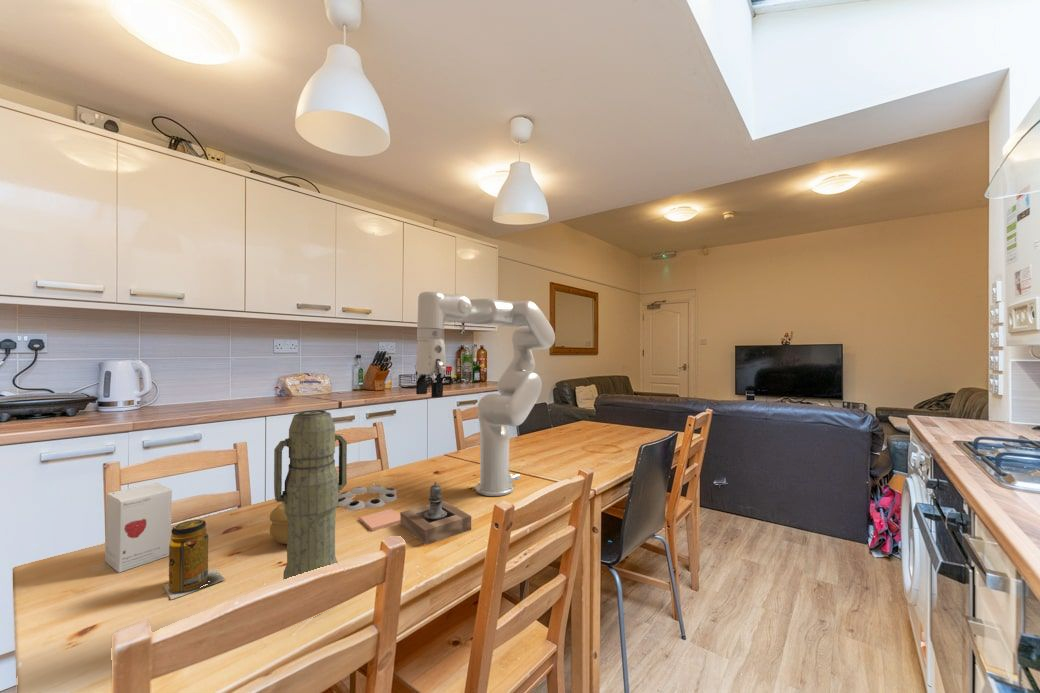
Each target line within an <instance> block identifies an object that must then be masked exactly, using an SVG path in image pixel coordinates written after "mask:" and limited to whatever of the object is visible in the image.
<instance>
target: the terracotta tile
mask: <svg viewBox="0 0 1040 693" xmlns="http://www.w3.org/2000/svg"><path fill="white" fill-rule="evenodd" d="M359 521H360V522H361V523H362V524H363V525H364V526H365V527H367V528H368V529H369V531H371V532H374V531H378V530H382V529H385V528H388V527H391V526H395V525H397V524H398V525H399V524H400V514H399V513H398V512H397V511H395V510H394V509H392V508H390V509H385V510H381V511H378V512H372V513H369V514H366V515H362V516H359Z"/></svg>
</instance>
